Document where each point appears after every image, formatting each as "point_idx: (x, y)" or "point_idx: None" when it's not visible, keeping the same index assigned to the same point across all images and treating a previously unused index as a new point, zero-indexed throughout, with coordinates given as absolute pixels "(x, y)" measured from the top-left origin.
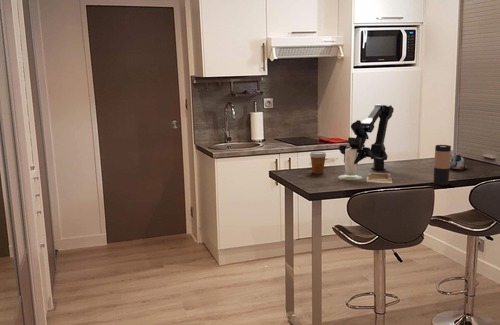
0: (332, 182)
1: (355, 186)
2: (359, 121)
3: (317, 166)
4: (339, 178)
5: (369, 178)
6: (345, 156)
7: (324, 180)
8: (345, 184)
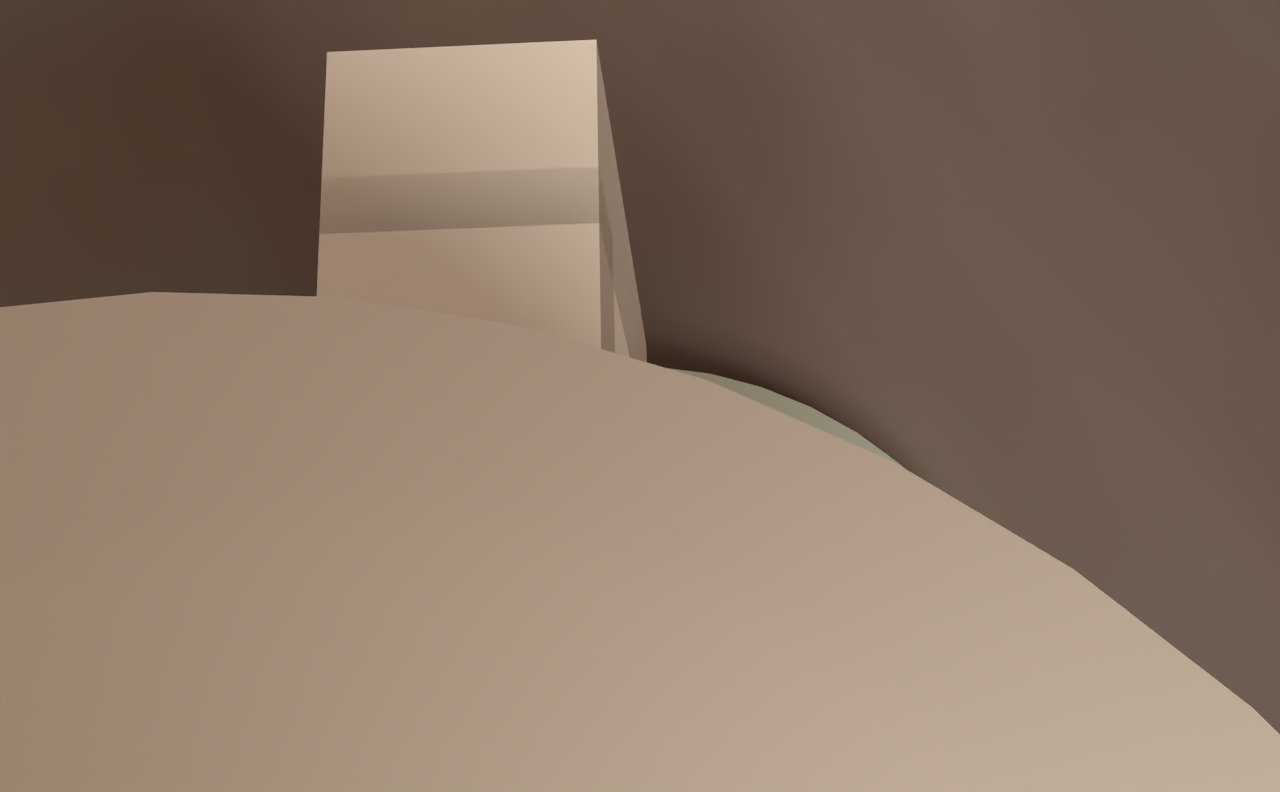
0: (783, 14)
1: (31, 31)
2: None
3: None
4: (841, 429)
5: None
6: (504, 57)
7: (1125, 70)
8: (360, 49)
